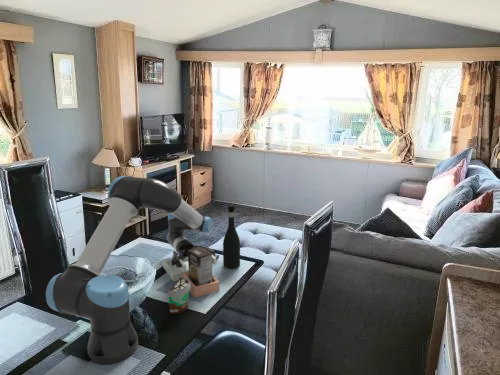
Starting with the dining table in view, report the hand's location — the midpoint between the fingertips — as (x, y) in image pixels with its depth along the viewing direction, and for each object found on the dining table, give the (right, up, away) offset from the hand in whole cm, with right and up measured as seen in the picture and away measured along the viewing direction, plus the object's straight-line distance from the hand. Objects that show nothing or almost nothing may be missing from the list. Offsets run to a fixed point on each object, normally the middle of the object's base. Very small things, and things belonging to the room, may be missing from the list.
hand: (200, 265), depth 152 cm
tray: (-9, -5, +16) cm, 19 cm away
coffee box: (0, -9, +1) cm, 10 cm away
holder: (0, -9, +1) cm, 9 cm away
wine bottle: (+12, -5, +20) cm, 24 cm away
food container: (-5, -13, -14) cm, 20 cm away
